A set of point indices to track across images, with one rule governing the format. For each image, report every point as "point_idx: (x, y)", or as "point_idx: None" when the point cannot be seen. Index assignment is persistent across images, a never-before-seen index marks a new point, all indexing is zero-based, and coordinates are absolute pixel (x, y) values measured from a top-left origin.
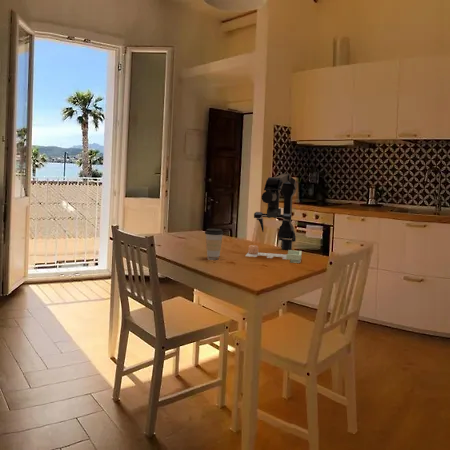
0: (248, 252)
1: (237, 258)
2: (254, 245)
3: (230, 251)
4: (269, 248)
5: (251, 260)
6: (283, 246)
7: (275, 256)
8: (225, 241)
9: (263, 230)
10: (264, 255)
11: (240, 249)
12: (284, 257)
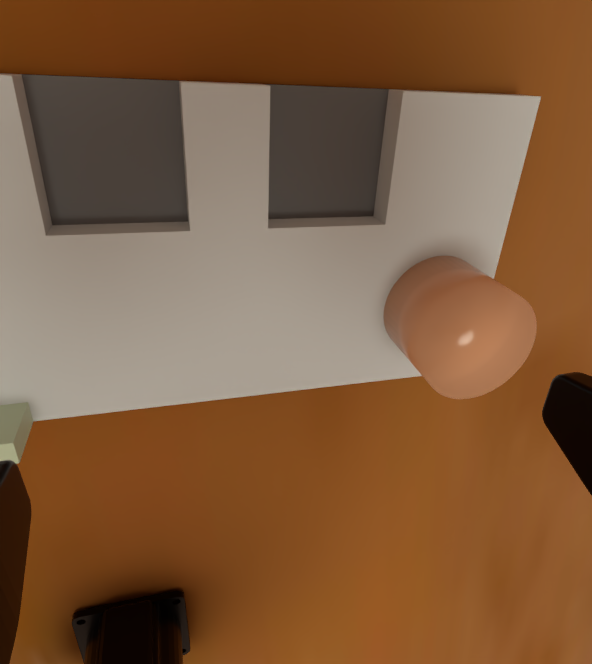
0: None
1: (589, 98)
2: (466, 386)
3: None
4: (287, 640)
5: (447, 23)
6: (158, 646)
7: (160, 236)
8: (553, 650)
9: (573, 432)
10: (307, 243)
11: (498, 508)
12: (17, 218)
